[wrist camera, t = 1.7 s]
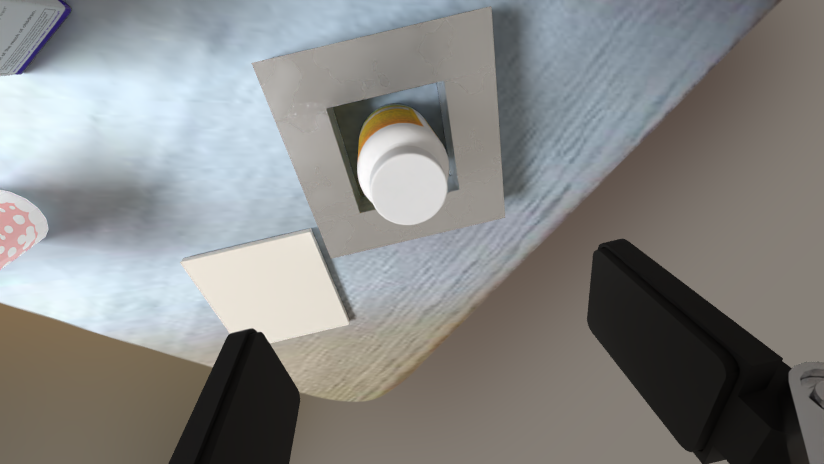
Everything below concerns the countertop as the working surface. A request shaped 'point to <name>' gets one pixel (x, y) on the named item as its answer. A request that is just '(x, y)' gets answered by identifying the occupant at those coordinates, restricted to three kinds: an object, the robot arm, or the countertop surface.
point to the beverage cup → (18, 226)
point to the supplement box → (27, 30)
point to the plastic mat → (270, 286)
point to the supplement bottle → (402, 165)
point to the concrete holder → (378, 75)
